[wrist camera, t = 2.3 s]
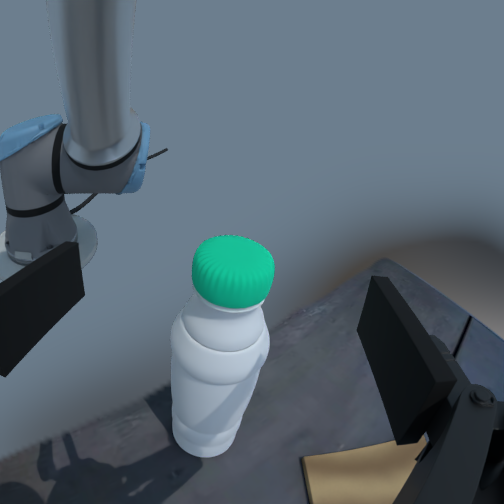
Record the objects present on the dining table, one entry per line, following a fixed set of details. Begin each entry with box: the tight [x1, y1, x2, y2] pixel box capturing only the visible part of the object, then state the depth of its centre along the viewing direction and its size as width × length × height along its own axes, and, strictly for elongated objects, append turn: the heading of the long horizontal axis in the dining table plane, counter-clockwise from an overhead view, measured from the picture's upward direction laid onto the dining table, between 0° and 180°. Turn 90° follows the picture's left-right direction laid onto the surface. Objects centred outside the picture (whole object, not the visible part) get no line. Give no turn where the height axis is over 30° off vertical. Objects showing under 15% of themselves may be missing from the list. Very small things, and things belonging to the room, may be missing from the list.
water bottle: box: [170, 235, 275, 457], centre depth 24 cm, size 7×7×25 cm
